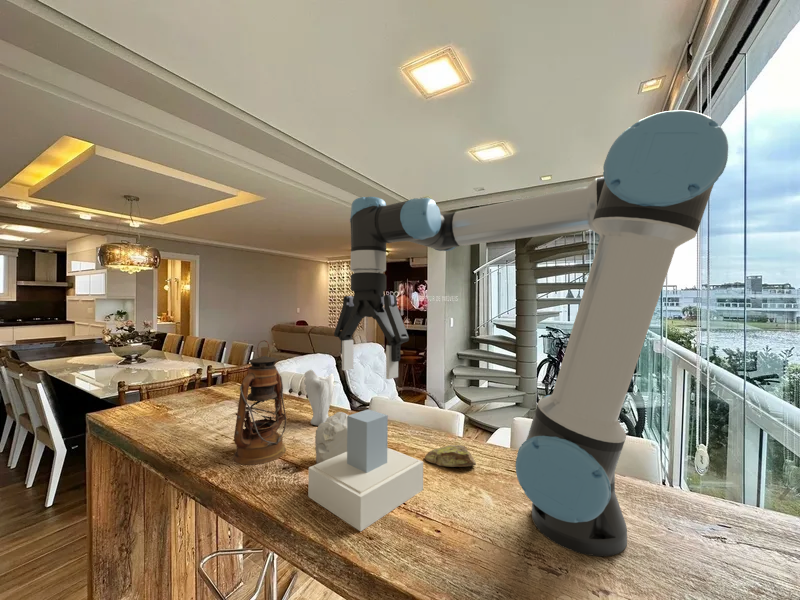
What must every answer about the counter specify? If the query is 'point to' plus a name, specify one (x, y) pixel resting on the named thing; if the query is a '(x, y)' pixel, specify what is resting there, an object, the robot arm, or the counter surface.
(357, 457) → the block
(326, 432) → the stone
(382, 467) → the plinth
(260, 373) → the lantern
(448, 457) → the rock
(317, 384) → the white figurine
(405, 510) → the counter surface
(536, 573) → the counter surface
